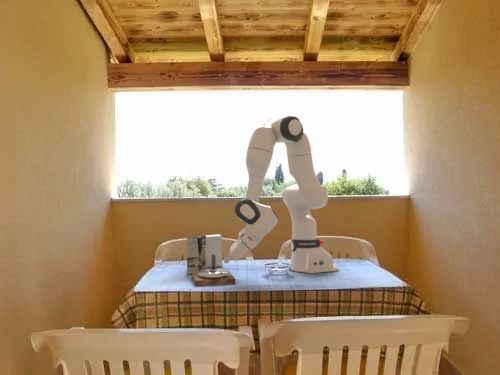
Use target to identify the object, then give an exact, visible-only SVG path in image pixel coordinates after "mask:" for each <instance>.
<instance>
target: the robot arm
mask: <svg viewBox="0 0 500 375" xmlns="http://www.w3.org/2000/svg"><path fill="white" fill-rule="evenodd" d="M277 143H284V144H285V147H286V156H287V164H288V172H289V174H290V176H291V177H292V178H293V179H294V180H295V182H296V184H293V185H288V186H287V187H285V188H284V189H283V190H282V194H281V197H282V198H281V199H282V202H283V203H284V205H286V207H287V209H288V212H289V215H290V218H291V227H292V229H291V230H292V234H291V235H292V237H291V243H290V247H291V249H290V250H291V258H290V262H289V266H290V265H291V270H290V271H292V272H297V273H298V272H299V273H306V274H317V273H326V272H336V271H339V267H338V266H337V265H335V264H334V259H333V256H332V255H331V254H330V253H329V252H327V250H325V249H324V248H323V247H321V245H322V246H323V245H324V244H325V242H324V240H322V239H318V238H317V221H316V219H315V218H314V217H313V216H312V214H311V211H310V210H318V209H321V208H324V207H325V206H326V205H327V204H328V202H329V193H328V191H327V190H326V188H325V187H323V185H322V184H321V183H320V181H319V180H318V177H317V175H316V172H315V169H314V162H313V157H312V155H313V154H312V148H311V143H310V140H309V137H308V134H307V132H305V131H304V127H303V124H302V121H301V120H300V119H299V117H297V116H294V115H286V116H278V117H276V118H273V119H269V120H267V121H266V122H264V123H263V124H262V125H261V126H257V127H256V128H254V130H253V132H252V134H251V136H250V139H249V143H248V145H247V150H246V156H245V157H246V158H245V165H246V169H247V173H248V183H247V190H246V193H245V198H242V199H240V200H238V201H237V203H236V205H235V207H234V213H235V215H236V217H237V218H238V220H240V221H241V222H242V223H244V224H245V226H244V228H242V229H241V230H240V231H239V233H237V235H238V237H237V240H236V241H235V242H234V243H232V244H231V246H230V248H229V253H228V254H227V255H226V257H225V258H224V259H223V264H229V263H230V261H232V260H234V261H236V262H237V261H238V260H240V259H241V258H242V257H243V256H244V255H245V254H246V253H248V252H249V251H250V250H252V251H253V249H254V248H255V247H256V246H257V245H258V244H259V243H260V242H261V241H262V239H263V238H264V237H265V236H267V235H268V234H270V232H271V231H272V230H273V229H274V227H275V226H276V225H277V224H278V221H279V217H278V215H277V213H276V212H275V211H274V208H273V207H272V206H270V205H264V204H261V203H260V199H261V194H262V190H263V184H264V181H265V178H266V175H267V174H268V173H267V172H268V169H269V168H270V165H271V161H272V159H273V154H274V150H275V148H274V147H275V146H276V144H277Z"/></svg>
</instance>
